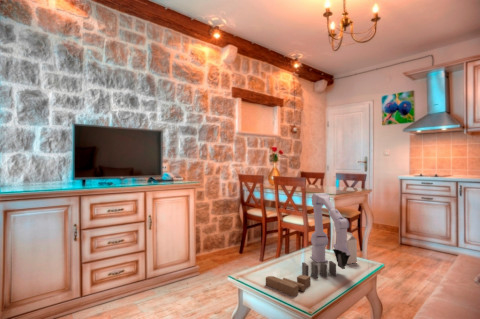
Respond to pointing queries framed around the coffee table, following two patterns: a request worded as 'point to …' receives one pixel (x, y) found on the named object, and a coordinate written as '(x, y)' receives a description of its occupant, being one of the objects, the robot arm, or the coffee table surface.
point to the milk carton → (352, 248)
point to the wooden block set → (289, 284)
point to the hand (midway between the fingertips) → (341, 263)
